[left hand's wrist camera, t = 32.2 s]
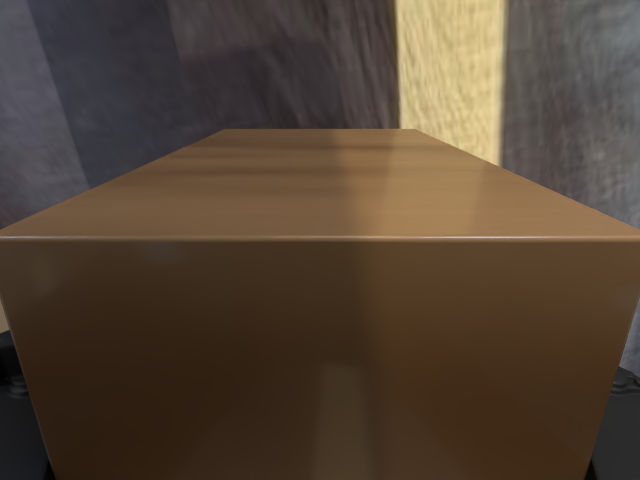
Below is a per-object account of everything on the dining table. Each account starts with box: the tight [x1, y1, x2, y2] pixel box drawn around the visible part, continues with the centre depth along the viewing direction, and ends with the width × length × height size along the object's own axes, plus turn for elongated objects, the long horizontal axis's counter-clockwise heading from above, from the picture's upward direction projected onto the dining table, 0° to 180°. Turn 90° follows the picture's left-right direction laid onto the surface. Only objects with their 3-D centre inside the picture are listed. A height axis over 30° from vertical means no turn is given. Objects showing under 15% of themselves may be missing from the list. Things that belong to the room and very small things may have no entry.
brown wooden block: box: [0, 129, 640, 480], centre depth 11 cm, size 9×7×11 cm
